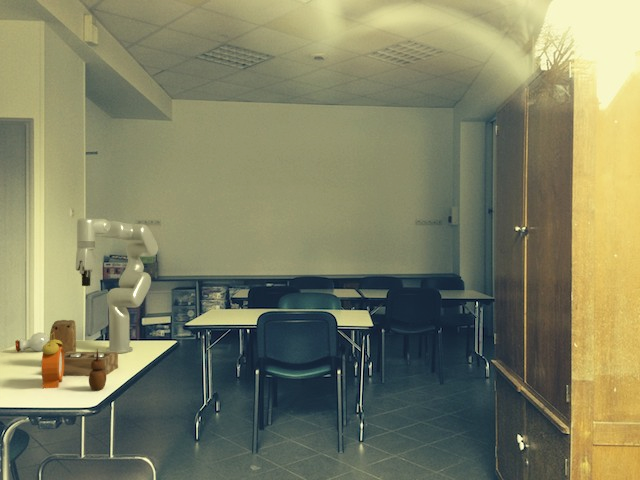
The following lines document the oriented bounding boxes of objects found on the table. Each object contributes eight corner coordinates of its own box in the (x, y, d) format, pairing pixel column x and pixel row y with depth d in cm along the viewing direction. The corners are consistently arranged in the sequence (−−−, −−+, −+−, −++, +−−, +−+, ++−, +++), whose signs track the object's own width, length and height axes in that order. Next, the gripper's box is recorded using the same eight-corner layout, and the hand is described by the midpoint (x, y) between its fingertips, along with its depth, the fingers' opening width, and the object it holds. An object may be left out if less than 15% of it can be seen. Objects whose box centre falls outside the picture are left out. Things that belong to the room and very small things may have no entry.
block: (76, 362, 248) (76, 319, 248) (74, 366, 241) (74, 321, 241) (50, 364, 245) (50, 320, 244) (47, 368, 237) (47, 322, 237)
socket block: (68, 367, 240) (68, 351, 240) (117, 367, 239) (117, 351, 239) (52, 375, 226) (52, 358, 226) (105, 375, 225) (104, 358, 225)
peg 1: (73, 369, 234) (73, 352, 233) (82, 369, 233) (82, 353, 233) (68, 371, 230) (68, 355, 229) (78, 371, 229) (78, 355, 229)
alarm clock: (58, 388, 207) (58, 336, 207) (40, 389, 205) (40, 337, 205) (64, 379, 220) (64, 330, 219) (47, 380, 218) (47, 330, 218)
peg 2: (96, 369, 233) (96, 353, 233) (105, 369, 233) (105, 353, 233) (92, 371, 229) (92, 355, 229) (101, 371, 229) (101, 355, 229)
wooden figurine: (92, 386, 209) (92, 348, 209) (108, 386, 210) (108, 347, 210) (86, 392, 203) (86, 351, 202) (102, 391, 203) (102, 351, 203)
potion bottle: (51, 353, 272) (18, 359, 268) (52, 339, 280) (20, 344, 275) (47, 341, 267) (13, 346, 263) (48, 327, 274) (15, 332, 270)
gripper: (85, 245, 255) (85, 284, 256) (70, 245, 240) (70, 287, 241) (101, 245, 255) (101, 284, 256) (86, 246, 240) (87, 287, 241)
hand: (86, 285), depth 248 cm, fingers closed
